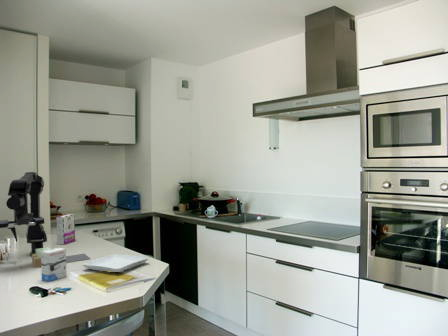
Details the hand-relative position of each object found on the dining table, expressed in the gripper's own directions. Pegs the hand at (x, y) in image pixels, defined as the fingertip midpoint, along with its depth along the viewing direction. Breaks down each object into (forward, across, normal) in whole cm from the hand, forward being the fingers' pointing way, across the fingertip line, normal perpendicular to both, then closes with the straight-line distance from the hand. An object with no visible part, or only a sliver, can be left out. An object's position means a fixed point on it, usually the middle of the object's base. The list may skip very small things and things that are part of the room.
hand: (22, 240), depth 176 cm
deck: (+12, +11, 0) cm, 16 cm away
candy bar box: (+12, +27, +44) cm, 53 cm away
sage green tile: (+8, +9, 0) cm, 12 cm away
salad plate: (+13, +35, -28) cm, 47 cm away
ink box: (+12, +9, -29) cm, 33 cm away
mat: (+12, +23, 0) cm, 26 cm away
